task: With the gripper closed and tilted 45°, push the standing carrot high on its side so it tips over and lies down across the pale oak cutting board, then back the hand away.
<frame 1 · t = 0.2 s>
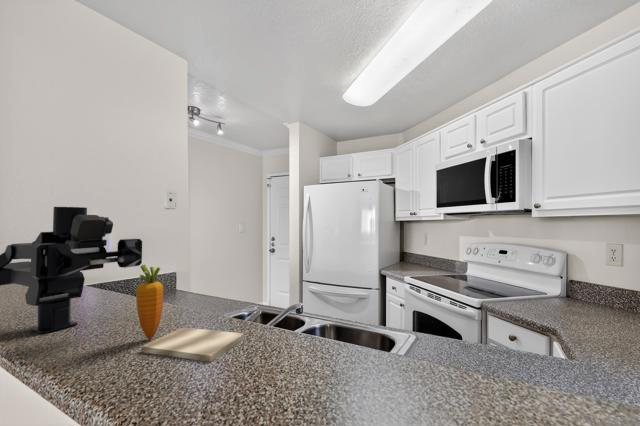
hand: (116, 259, 56), 17 cm above the countertop, tool horizontal, fingers open, 9 cm apart
carrot: (150, 340, 59), on the countertop
cutting board: (195, 345, 55), on the countertop
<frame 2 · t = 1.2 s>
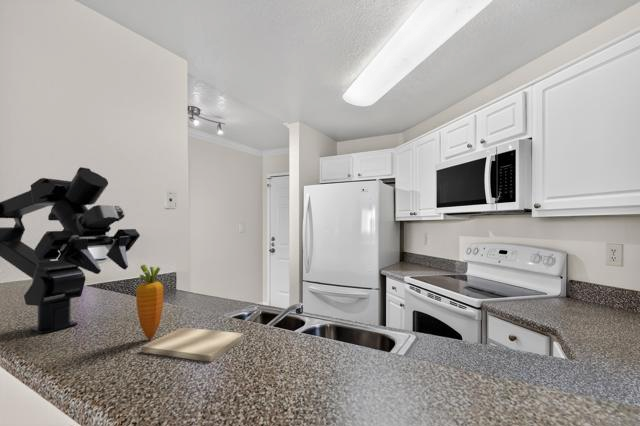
hand: (113, 270, 62), 14 cm above the countertop, tool tilted 45°, fingers open, 6 cm apart
nothing on the countertop moved.
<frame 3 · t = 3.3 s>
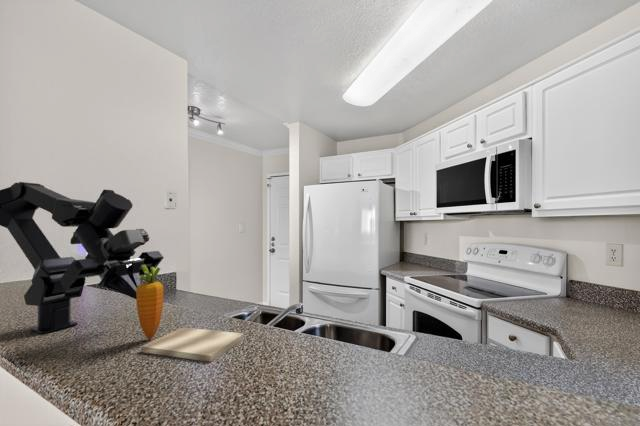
hand: (139, 297, 60), 8 cm above the countertop, tool tilted 45°, fingers closed
carrot: (150, 340, 59), on the countertop, touching gripper
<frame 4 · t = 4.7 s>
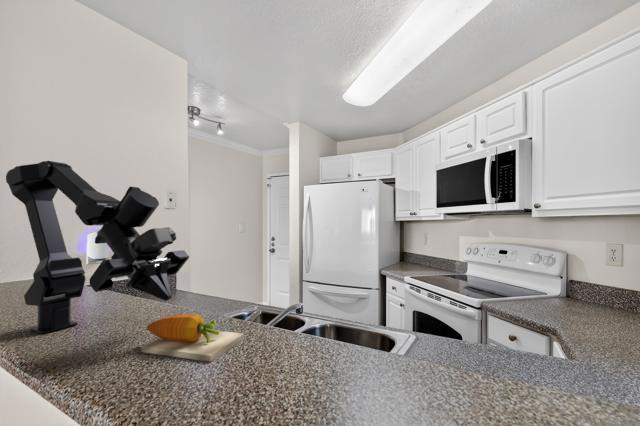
hand: (169, 298, 57), 8 cm above the countertop, tool tilted 45°, fingers closed
carrot: (146, 327, 57), point 3 cm above the countertop, touching cutting board
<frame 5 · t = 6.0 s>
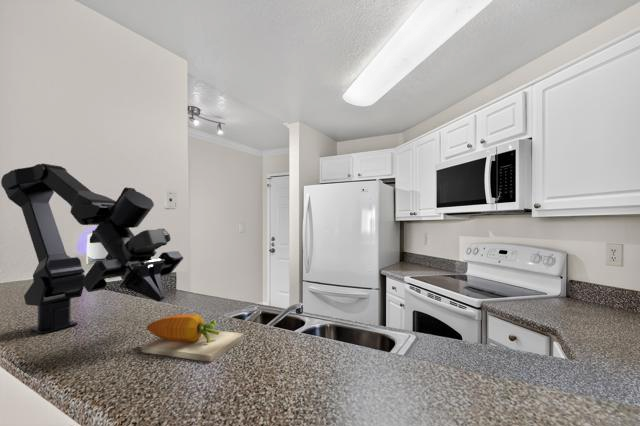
hand: (161, 299, 58), 8 cm above the countertop, tool tilted 45°, fingers closed
nothing on the countertop moved.
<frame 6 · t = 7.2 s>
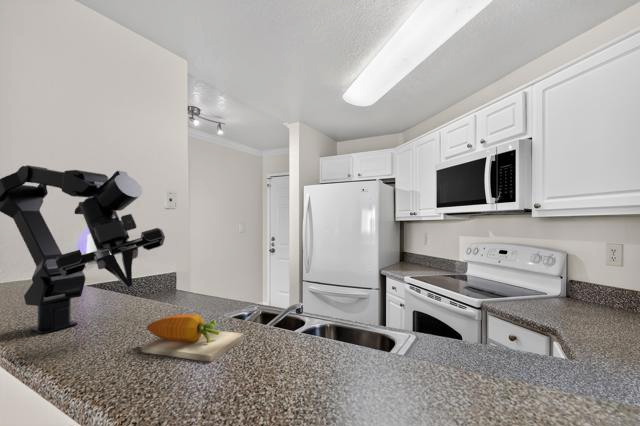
hand: (129, 286, 61), 10 cm above the countertop, tool tilted 30°, fingers closed
nothing on the countertop moved.
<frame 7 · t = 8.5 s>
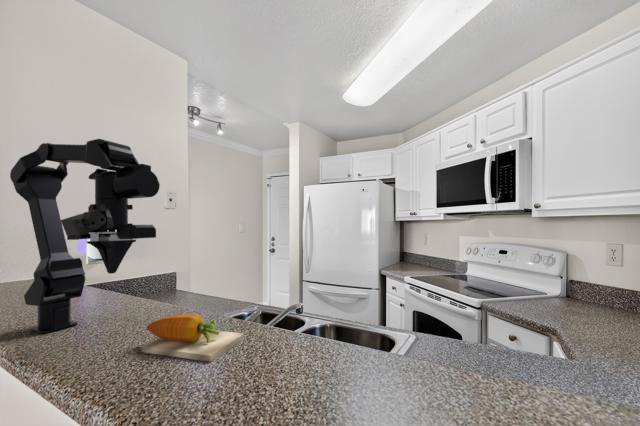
hand: (111, 273, 62), 13 cm above the countertop, tool pointing down, fingers closed
nothing on the countertop moved.
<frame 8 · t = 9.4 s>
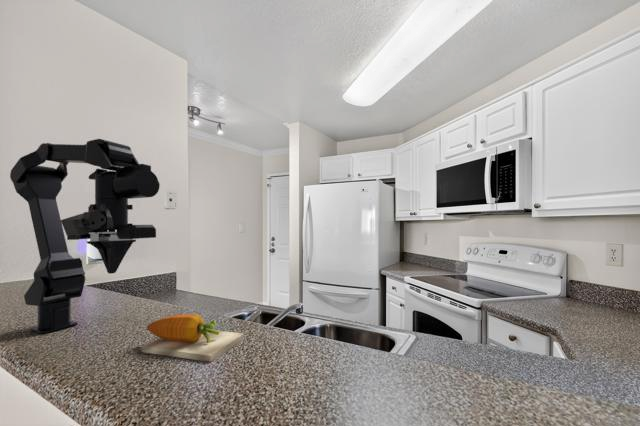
hand: (111, 273, 62), 13 cm above the countertop, tool pointing down, fingers closed
nothing on the countertop moved.
at the end: carrot tilted 89°; carrot touching cutting board; the gripper is holding nothing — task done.
